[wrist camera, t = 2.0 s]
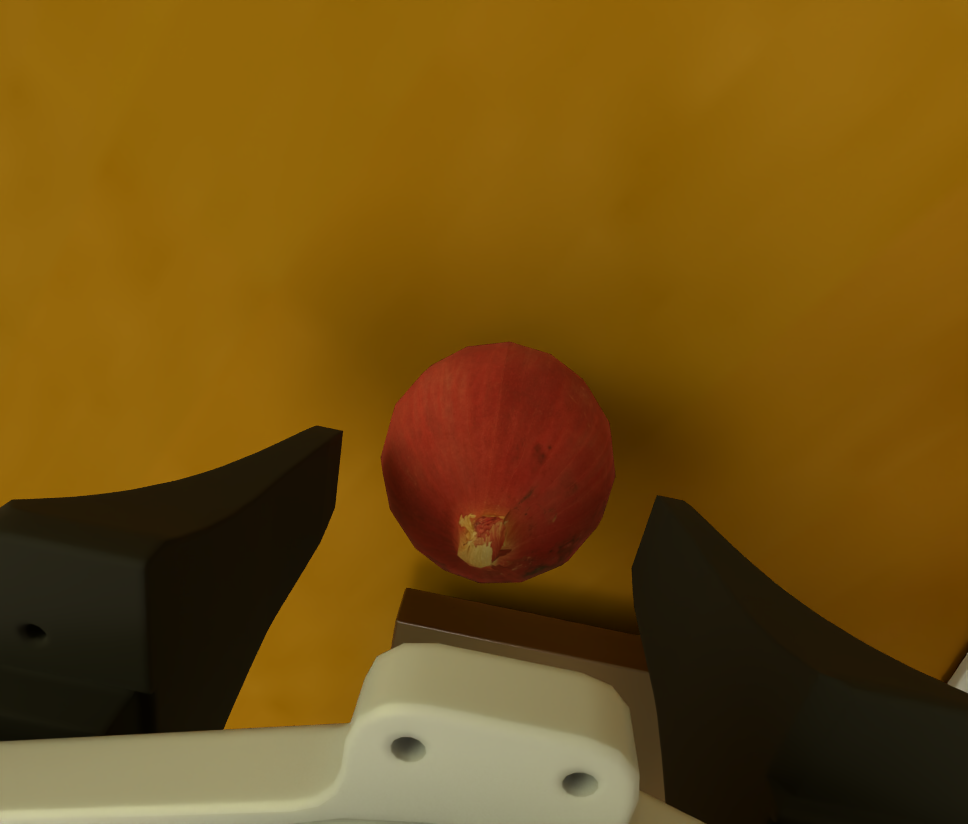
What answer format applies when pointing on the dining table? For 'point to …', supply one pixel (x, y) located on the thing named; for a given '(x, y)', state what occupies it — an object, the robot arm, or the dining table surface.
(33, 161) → the dining table surface
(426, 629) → the platform
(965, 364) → the dining table surface
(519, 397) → the onion
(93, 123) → the dining table surface
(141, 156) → the dining table surface
